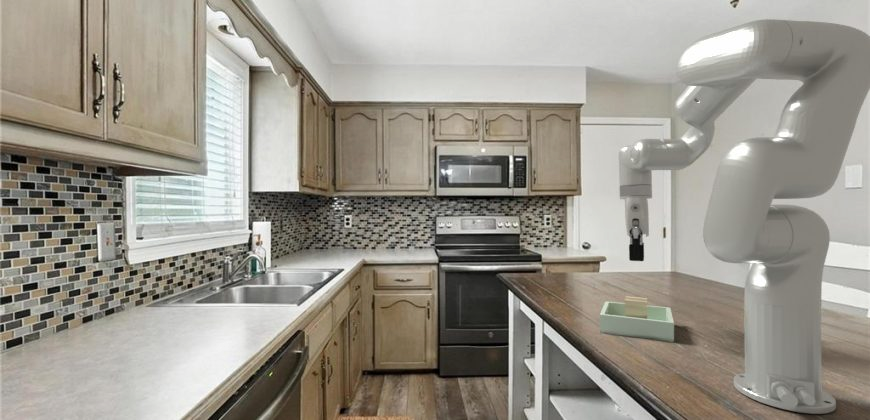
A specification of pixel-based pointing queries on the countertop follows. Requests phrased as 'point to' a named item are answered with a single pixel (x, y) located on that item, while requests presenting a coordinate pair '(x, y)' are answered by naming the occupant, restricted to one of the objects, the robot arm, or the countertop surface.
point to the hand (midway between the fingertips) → (637, 259)
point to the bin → (637, 322)
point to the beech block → (636, 307)
